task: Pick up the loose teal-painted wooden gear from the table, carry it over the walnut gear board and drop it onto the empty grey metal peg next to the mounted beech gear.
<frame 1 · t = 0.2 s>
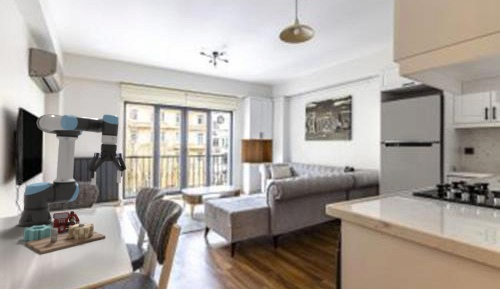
hand: (106, 183, 143), 28 cm above the table, fingers open, 13 cm apart
toy fire truck: (66, 231, 148), on the table
gear board: (67, 241, 132), on the table
teal gear: (37, 237, 135), on the table
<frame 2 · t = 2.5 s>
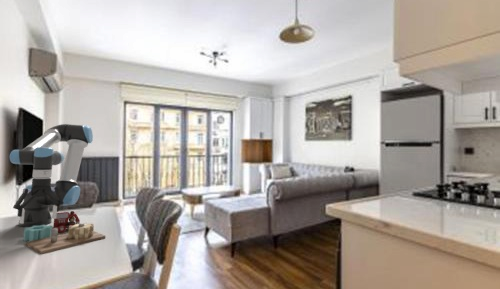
hand: (38, 220, 134), 9 cm above the table, fingers open, 13 cm apart
nothing on the table moved.
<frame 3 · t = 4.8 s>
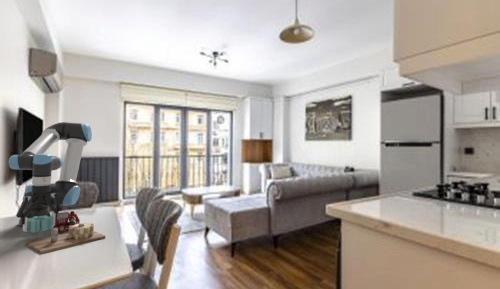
hand: (39, 227, 135), 5 cm above the table, fingers closed on teal gear, 11 cm apart
teal gear: (39, 228, 136), point 4 cm above the table, touching gripper
everything else where it was.
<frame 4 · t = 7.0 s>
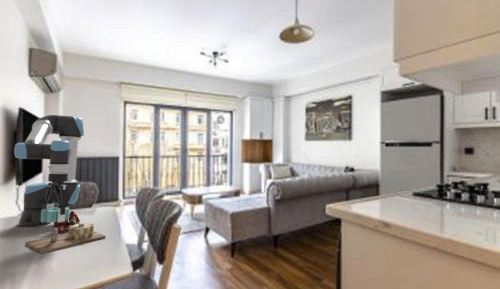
hand: (55, 219, 127), 12 cm above the table, fingers closed on teal gear, 11 cm apart
teal gear: (55, 219, 127), point 12 cm above the table, touching gripper
everything else where it was.
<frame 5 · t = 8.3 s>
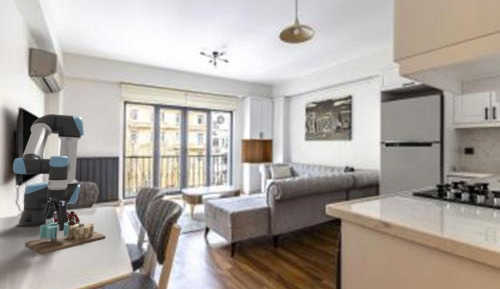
hand: (54, 235, 127), 4 cm above the table, fingers closed on teal gear, 11 cm apart
teal gear: (54, 235, 127), point 4 cm above the table, touching gripper
everything else where it was.
when the fingers open (3 cm above the table, at t = 9.2 s): teal gear drops 2 cm, resting on gear board.
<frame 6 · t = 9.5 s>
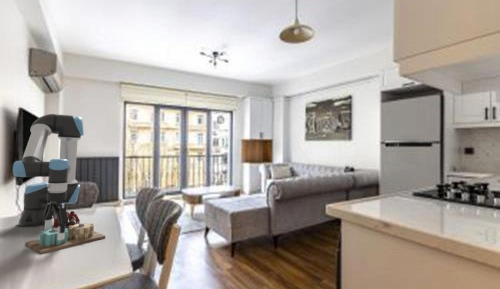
hand: (54, 236, 127), 4 cm above the table, fingers open, 13 cm apart
teal gear: (53, 241, 127), point 1 cm above the table, touching gear board
everything else where it was.
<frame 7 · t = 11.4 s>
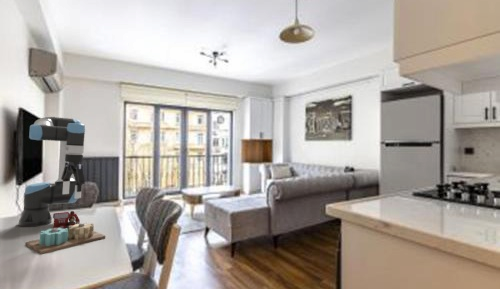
hand: (71, 196, 136), 22 cm above the table, fingers open, 13 cm apart
nothing on the table moved.
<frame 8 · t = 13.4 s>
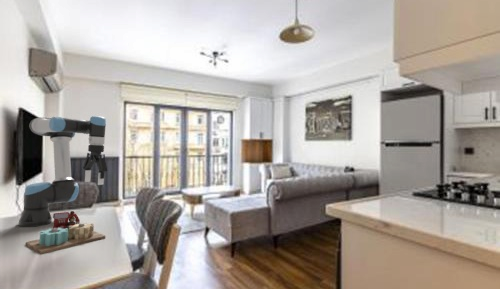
hand: (93, 183, 148), 27 cm above the table, fingers open, 13 cm apart
nothing on the table moved.
at the end: teal gear 0.1 cm from the target spot on the gear board, point 1.2 cm above the gear board's base; teal gear tilted 0°; the gripper is holding nothing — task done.
